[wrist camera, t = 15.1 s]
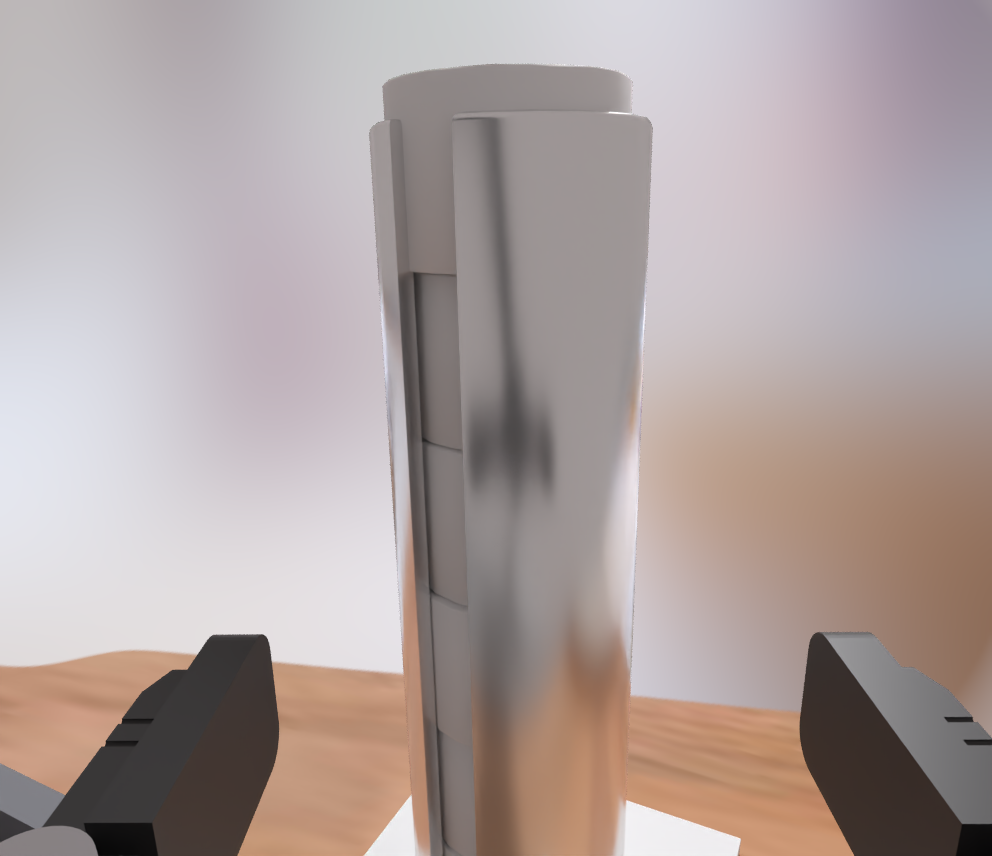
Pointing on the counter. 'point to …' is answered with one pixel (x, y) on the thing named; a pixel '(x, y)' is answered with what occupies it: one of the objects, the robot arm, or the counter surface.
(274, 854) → the counter surface
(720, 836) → the rubber mat
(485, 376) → the silver metal canister
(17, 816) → the housing collar
